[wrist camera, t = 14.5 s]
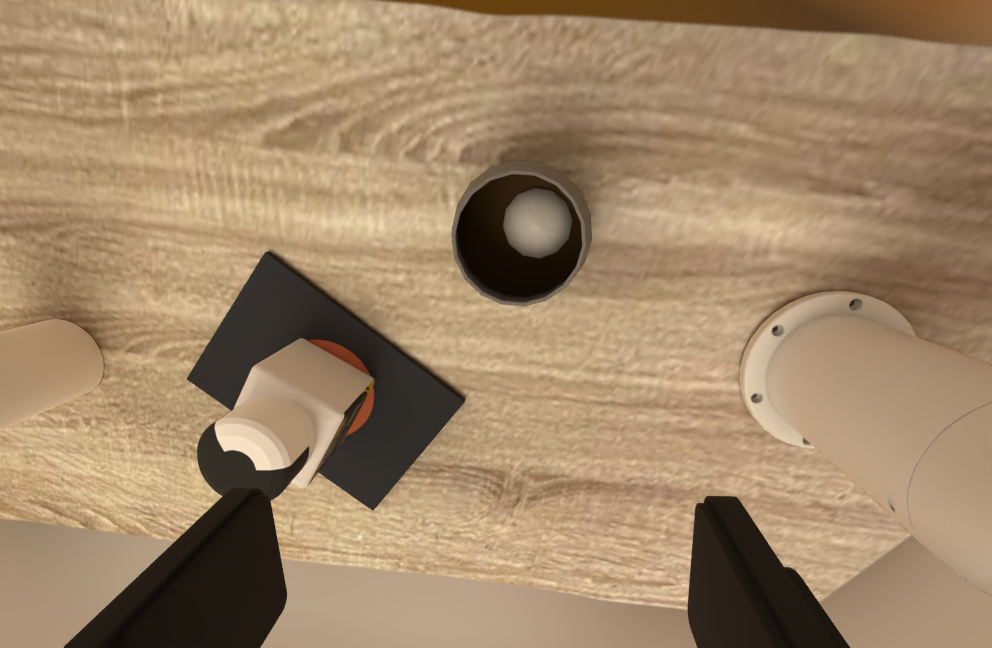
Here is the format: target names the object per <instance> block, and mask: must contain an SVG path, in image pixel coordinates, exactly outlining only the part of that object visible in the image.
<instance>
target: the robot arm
mask: <svg viewBox="0 0 992 648" xmlns="http://www.w3.org/2000/svg"><path fill="white" fill-rule="evenodd" d="M850 302H851V303H850ZM774 326H775V329H774V330H772V329H773V327H774ZM739 383H740V390H741V395H742V398H743V400H744V403H745V406H746V408H747V409H748V411H749V412H750V414H751V415H752V417H753V418H754V419H755V420H756V421H757V422H758V423H759V425H760V426H761V427H762V428H763V429H765V430H766V431H767V432H768V433H770V434H771V435H772V436H773V437H775V438H777V439H779V440H781V441H783V442H785V443H787V444H791V445H794V446H797V447H801V448H809V449H817V450H818V451H819V452H820V453H821V454H823V455H824V456H825V457H826V458H827V459H828V460H829V461H830V462H831V463H833V464H834V465H835V466H836V467H837V468H838V469H839V470H840V471H841V472H843V473H844V474H845V475H846V476H847V477H848V478H849V479H850V480H851V481H853V482H854V483H855V484H856V485H857V486H858V487H859V488H860V489H861V490H863V491H864V492H865V493H866V494H867V495H868V496H869V497H870V498H871V499H873V500H874V501H875V502H876V503H877V504H878V505H879V506H880V507H881V508H883V509H884V510H885V511H886V512H887V513H888V514H889V515H890V516H891V517H893V518H894V519H895V520H896V521H897V522H898V523H899V524H900V525H901V526H903V527H904V528H905V529H906V530H907V531H908V532H909V533H910V534H911V535H913V536H914V537H915V538H916V539H917V540H918V541H919V542H920V543H922V544H923V545H924V546H925V547H926V548H927V549H928V550H929V551H931V552H932V553H933V554H934V555H935V556H937V557H938V558H939V559H940V560H941V561H942V562H943V563H944V564H945V565H947V566H948V567H949V568H950V569H951V570H953V571H954V572H955V573H956V574H958V575H959V576H960V577H961V578H963V579H964V580H965V581H967V582H968V583H970V584H971V585H973V586H975V587H976V588H978V589H979V590H981V591H983V592H984V593H986V594H988V595H990V596H992V364H989V363H986V362H983V361H981V360H978V359H975V358H972V357H970V356H967V355H964V354H961V353H959V352H956V351H953V350H951V349H948V348H945V347H942V346H940V345H937V344H934V343H931V342H929V341H926V340H923V339H920V338H918V337H917V336H916V334H915V332H914V330H913V328H912V327H911V325H910V323H909V322H908V321H907V320H906V319H905V317H904V316H903V315H902V314H901V313H900V312H899V311H897V310H896V309H895V308H893V307H892V306H890V305H889V304H887V303H886V302H883V301H881V300H878V299H876V298H873V297H871V296H867V295H864V294H860V293H856V292H847V291H828V292H820V293H816V294H812V295H808V296H804V297H802V298H800V299H797V300H795V301H793V302H790V303H788V304H787V305H785V306H784V307H782V308H781V309H779V310H778V311H776V312H774V313H773V314H772V315H771V316H770V317H769V318H768V319H767V320H766V321H764V322H763V323H762V324H761V326H760V327H759V328H758V329H757V331H756V332H755V333H754V335H753V336H752V337H751V339H750V341H749V343H748V345H747V347H746V349H745V351H744V354H743V358H742V361H741V364H740V374H739ZM753 394H754V395H753ZM752 395H753V396H752ZM286 600H287V590H286V585H285V579H284V573H283V568H282V562H281V557H280V551H279V546H278V540H277V535H276V529H275V524H274V518H273V513H272V507H271V502H270V498H269V497H268V496H267V495H264V493H263V491H262V490H261V489H259V488H232V489H231V490H229V491H228V492H227V493H226V494H225V495H224V496H223V497H222V498H221V499H220V500H219V501H217V502H216V503H215V504H214V505H213V506H212V507H211V508H210V509H209V510H208V511H207V512H206V513H205V514H204V515H203V516H202V517H201V518H199V519H198V520H197V521H196V522H195V523H194V524H193V525H192V526H191V527H190V528H189V529H188V530H187V531H186V532H185V533H184V534H183V535H181V536H180V537H179V538H178V539H177V540H176V541H175V542H174V543H173V544H172V545H171V546H170V547H169V548H168V549H167V550H166V551H165V552H164V553H163V554H161V555H160V556H159V557H158V558H157V559H156V560H155V561H154V562H153V563H152V564H151V565H150V566H149V567H148V568H147V569H146V570H145V571H144V572H142V573H141V574H140V575H139V576H138V577H137V578H136V579H135V580H134V581H133V582H132V583H131V584H130V585H129V586H128V587H126V588H125V590H123V591H122V592H121V593H120V594H119V595H118V596H117V597H116V598H115V599H114V600H113V601H112V602H111V603H110V604H109V605H107V606H106V607H105V608H104V609H103V610H102V611H101V612H100V613H99V614H98V615H97V616H96V617H95V618H94V619H93V620H92V621H91V622H89V623H88V624H87V625H86V626H85V627H84V628H83V629H82V630H81V631H80V632H79V633H78V634H77V635H76V636H75V637H74V638H73V639H72V640H70V641H69V642H68V643H67V644H66V645H65V646H64V648H260V647H261V645H262V644H263V642H264V641H265V639H266V637H267V636H268V634H269V633H270V631H271V629H272V628H273V626H274V624H275V623H276V621H277V620H278V618H279V616H280V615H281V613H282V611H283V609H284V607H285V604H286ZM688 618H689V624H690V628H691V631H692V633H693V636H694V639H695V642H696V645H697V648H850V647H849V645H848V644H847V643H846V641H845V640H844V638H843V637H842V635H841V634H840V633H839V631H838V630H837V628H836V627H835V625H834V624H833V622H832V621H831V619H830V618H829V617H828V615H827V614H826V612H825V611H824V609H823V608H822V607H821V605H820V604H819V602H818V601H817V599H816V598H815V596H814V595H813V594H812V592H811V591H810V589H809V588H808V586H807V585H806V583H805V582H804V581H803V579H802V578H801V576H800V575H799V574H798V573H797V572H796V571H795V570H794V569H792V568H790V567H783V565H782V564H781V562H780V561H779V559H778V558H777V556H776V555H775V553H774V552H773V550H772V549H771V547H770V546H769V544H768V543H767V541H766V540H765V538H764V537H763V535H762V534H761V532H760V531H759V529H758V528H757V526H756V525H755V523H754V522H753V520H752V519H751V517H750V516H749V514H748V513H747V511H746V510H745V508H744V507H743V505H742V504H741V502H740V501H739V499H738V498H737V497H734V496H707V497H706V498H705V500H704V503H698V504H697V505H696V508H695V519H694V532H693V545H692V558H691V571H690V584H689V597H688Z"/></svg>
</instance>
